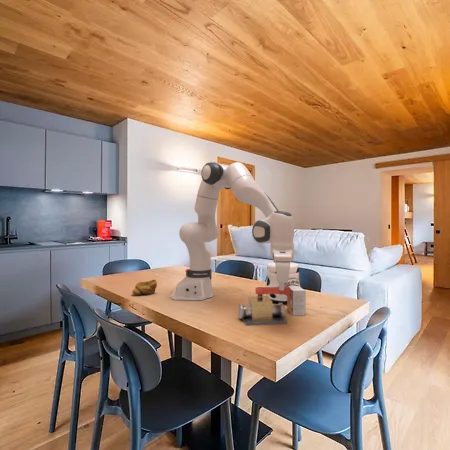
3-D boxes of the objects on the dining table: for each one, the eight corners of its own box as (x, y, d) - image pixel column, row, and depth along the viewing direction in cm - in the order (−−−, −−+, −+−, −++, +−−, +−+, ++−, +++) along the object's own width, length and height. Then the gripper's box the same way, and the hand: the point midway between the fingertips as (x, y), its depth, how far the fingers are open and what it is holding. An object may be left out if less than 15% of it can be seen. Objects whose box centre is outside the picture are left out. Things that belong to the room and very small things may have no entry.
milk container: (294, 307, 127) (294, 268, 126) (259, 302, 136) (259, 265, 135) (305, 298, 141) (305, 263, 141) (273, 294, 150) (272, 260, 150)
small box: (286, 309, 123) (286, 286, 123) (299, 309, 124) (299, 285, 124) (292, 315, 115) (292, 290, 115) (305, 315, 116) (305, 290, 116)
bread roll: (134, 297, 145) (134, 282, 145) (130, 293, 154) (129, 279, 154) (158, 294, 152) (158, 279, 152) (153, 290, 160) (153, 276, 160)
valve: (242, 325, 105) (241, 299, 105) (237, 314, 117) (237, 291, 117) (287, 323, 107) (287, 297, 106) (278, 313, 118) (278, 290, 118)
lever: (256, 295, 110) (256, 288, 110) (254, 292, 114) (254, 286, 114) (290, 294, 111) (290, 288, 111) (288, 292, 114) (288, 286, 114)
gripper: (273, 250, 117) (272, 282, 118) (273, 256, 97) (273, 296, 97) (288, 250, 116) (288, 283, 117) (292, 257, 96) (291, 297, 96)
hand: (281, 289), depth 107 cm, fingers closed
